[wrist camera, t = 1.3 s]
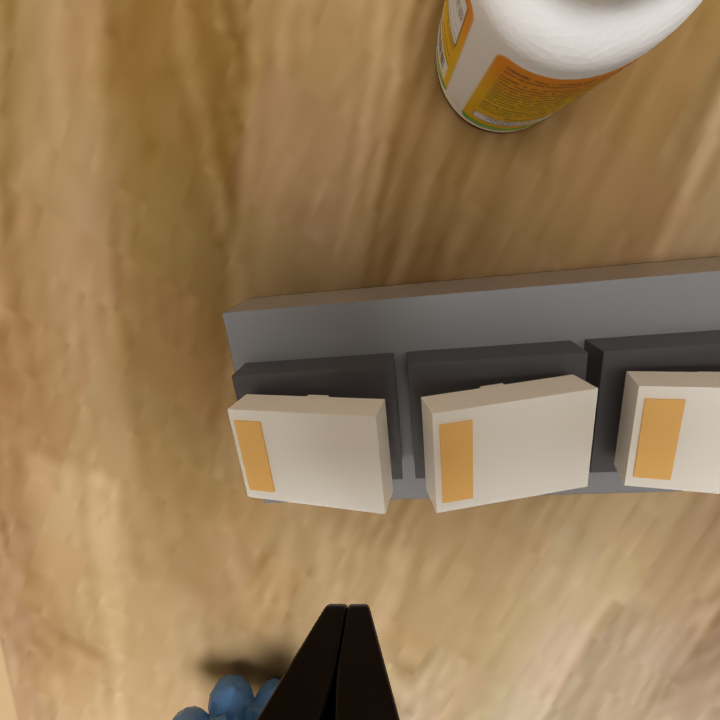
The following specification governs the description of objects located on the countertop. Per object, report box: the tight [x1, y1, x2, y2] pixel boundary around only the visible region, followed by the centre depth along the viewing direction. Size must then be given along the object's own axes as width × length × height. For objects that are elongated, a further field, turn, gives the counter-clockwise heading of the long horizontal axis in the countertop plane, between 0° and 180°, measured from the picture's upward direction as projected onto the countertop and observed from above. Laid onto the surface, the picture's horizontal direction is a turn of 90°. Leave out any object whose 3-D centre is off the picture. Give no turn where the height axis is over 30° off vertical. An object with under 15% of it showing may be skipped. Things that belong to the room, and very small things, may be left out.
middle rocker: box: [421, 374, 598, 513], centre depth 13 cm, size 5×4×2 cm
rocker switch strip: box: [222, 256, 720, 503], centre depth 16 cm, size 20×9×4 cm, turn 96°
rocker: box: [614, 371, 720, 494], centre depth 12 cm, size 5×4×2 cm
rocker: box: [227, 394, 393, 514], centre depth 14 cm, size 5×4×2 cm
